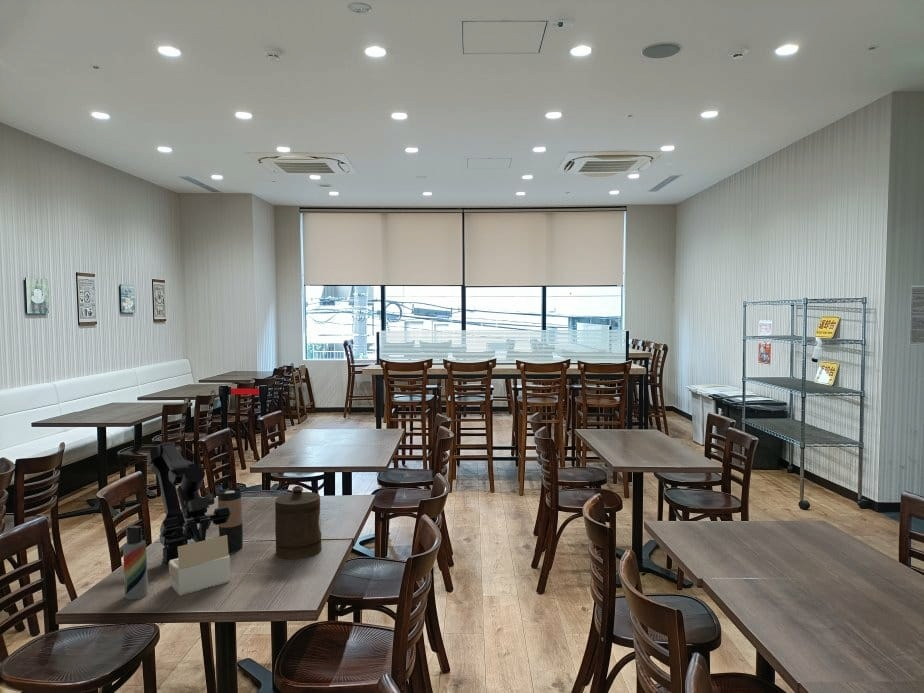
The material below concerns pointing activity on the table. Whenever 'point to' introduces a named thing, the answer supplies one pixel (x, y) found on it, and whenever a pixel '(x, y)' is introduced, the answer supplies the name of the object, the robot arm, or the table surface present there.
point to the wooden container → (297, 524)
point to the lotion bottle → (135, 564)
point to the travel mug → (232, 518)
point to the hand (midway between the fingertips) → (203, 546)
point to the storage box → (199, 575)
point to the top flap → (203, 551)
